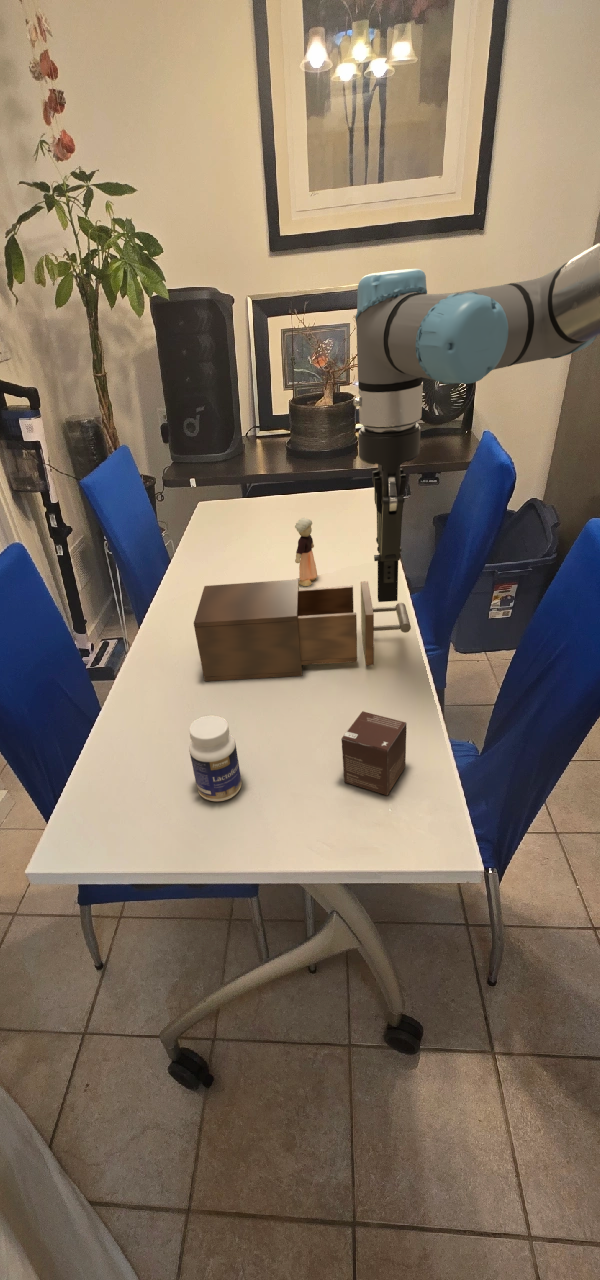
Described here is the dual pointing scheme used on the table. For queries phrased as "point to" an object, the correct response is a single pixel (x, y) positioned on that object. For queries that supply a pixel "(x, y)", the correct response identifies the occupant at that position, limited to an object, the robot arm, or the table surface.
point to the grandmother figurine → (305, 553)
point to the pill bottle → (214, 758)
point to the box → (374, 752)
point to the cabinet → (249, 630)
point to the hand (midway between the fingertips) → (387, 599)
